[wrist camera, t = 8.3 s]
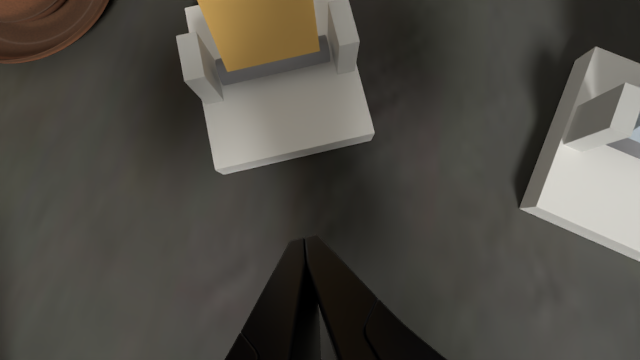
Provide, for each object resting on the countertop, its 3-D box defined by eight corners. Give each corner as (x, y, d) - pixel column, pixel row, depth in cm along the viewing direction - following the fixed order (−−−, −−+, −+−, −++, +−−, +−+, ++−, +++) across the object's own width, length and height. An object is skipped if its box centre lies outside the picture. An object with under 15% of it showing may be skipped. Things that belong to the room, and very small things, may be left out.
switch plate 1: (370, 140, 20) (383, 114, 16) (223, 174, 20) (193, 158, 15) (332, -7, 22) (333, -70, 17) (195, 24, 21) (159, -32, 17)
